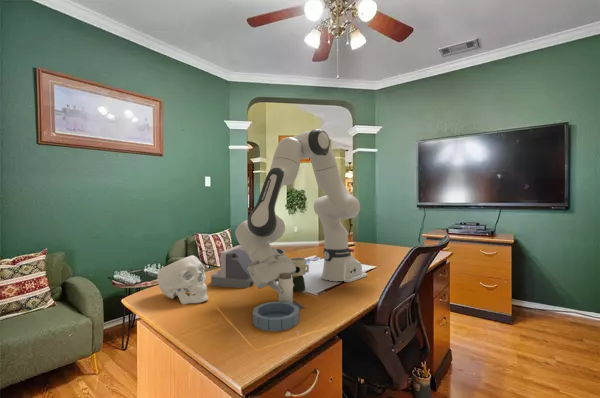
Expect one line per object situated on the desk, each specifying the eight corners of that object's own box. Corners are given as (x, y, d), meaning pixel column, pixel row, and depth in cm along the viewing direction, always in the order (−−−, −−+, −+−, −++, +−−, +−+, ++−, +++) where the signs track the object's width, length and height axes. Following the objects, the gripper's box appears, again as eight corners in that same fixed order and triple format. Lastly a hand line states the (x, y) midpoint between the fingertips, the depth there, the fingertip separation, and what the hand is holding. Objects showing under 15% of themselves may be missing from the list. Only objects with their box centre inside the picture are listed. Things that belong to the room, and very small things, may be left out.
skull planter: (195, 304, 97) (176, 253, 101) (161, 321, 105) (145, 273, 109) (223, 292, 109) (206, 247, 113) (191, 308, 117) (176, 266, 121)
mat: (290, 300, 105) (290, 299, 105) (305, 308, 97) (305, 307, 97) (266, 306, 100) (266, 304, 100) (280, 315, 92) (280, 314, 92)
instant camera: (232, 273, 145) (232, 243, 145) (269, 277, 137) (268, 246, 137) (204, 285, 125) (204, 251, 125) (245, 290, 117) (244, 254, 117)
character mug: (281, 290, 116) (281, 259, 116) (291, 285, 122) (290, 255, 122) (304, 295, 111) (304, 262, 111) (313, 289, 117) (312, 258, 117)
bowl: (284, 309, 97) (284, 298, 97) (307, 324, 85) (307, 312, 85) (246, 318, 90) (246, 307, 90) (265, 337, 78) (265, 324, 78)
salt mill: (288, 302, 102) (288, 271, 102) (295, 307, 98) (295, 274, 98) (276, 305, 99) (275, 273, 99) (283, 310, 95) (282, 277, 95)
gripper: (249, 258, 93) (273, 293, 88) (285, 248, 111) (307, 277, 105) (240, 270, 96) (262, 305, 91) (276, 258, 113) (297, 287, 108)
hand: (287, 290), depth 98 cm, fingers closed on salt mill, 5 cm apart
